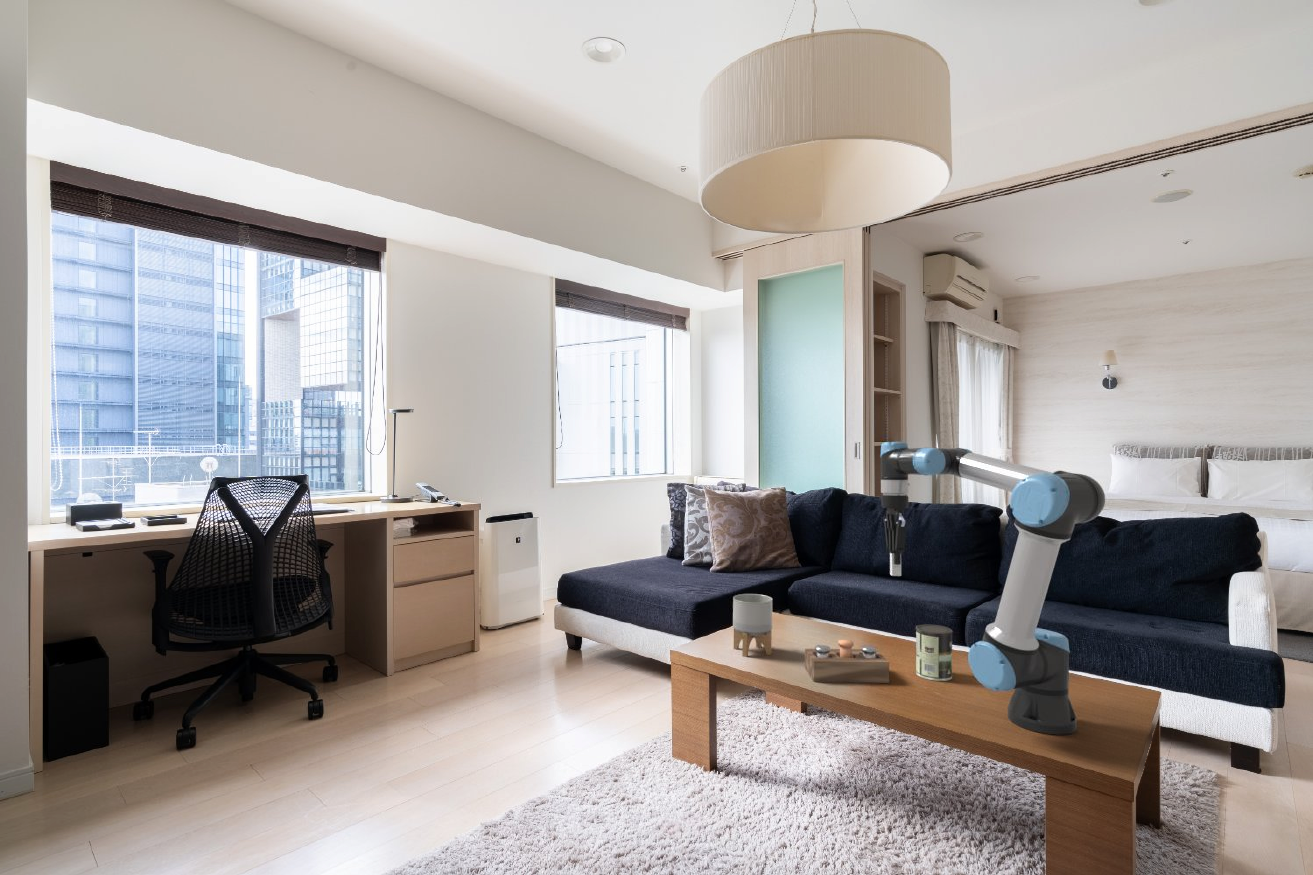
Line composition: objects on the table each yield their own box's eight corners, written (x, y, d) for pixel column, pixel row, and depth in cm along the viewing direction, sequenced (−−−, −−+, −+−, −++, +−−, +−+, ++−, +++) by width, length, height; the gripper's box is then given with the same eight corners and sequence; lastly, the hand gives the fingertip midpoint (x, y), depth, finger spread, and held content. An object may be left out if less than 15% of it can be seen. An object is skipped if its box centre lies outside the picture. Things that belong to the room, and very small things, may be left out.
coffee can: (948, 671, 206) (948, 625, 207) (955, 682, 196) (956, 634, 196) (912, 668, 208) (913, 622, 209) (918, 679, 198) (919, 632, 198)
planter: (742, 643, 233) (742, 592, 233) (777, 649, 226) (778, 596, 226) (726, 653, 221) (726, 599, 222) (763, 660, 215) (763, 604, 215)
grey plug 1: (831, 673, 199) (831, 649, 200) (816, 673, 199) (817, 649, 200) (827, 668, 204) (828, 645, 204) (813, 668, 204) (813, 644, 204)
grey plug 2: (878, 674, 199) (878, 650, 200) (863, 674, 199) (864, 649, 200) (873, 669, 204) (874, 645, 204) (859, 669, 204) (859, 645, 204)
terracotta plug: (855, 668, 199) (855, 643, 200) (840, 668, 199) (840, 643, 200) (850, 663, 204) (851, 639, 204) (836, 663, 204) (836, 639, 204)
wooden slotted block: (889, 682, 196) (889, 661, 196) (813, 681, 196) (813, 661, 196) (875, 668, 208) (875, 649, 208) (804, 667, 208) (804, 648, 208)
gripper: (916, 495, 190) (917, 579, 189) (898, 493, 203) (899, 571, 202) (890, 495, 190) (891, 579, 189) (874, 493, 203) (875, 571, 202)
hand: (895, 575), depth 196 cm, fingers closed
